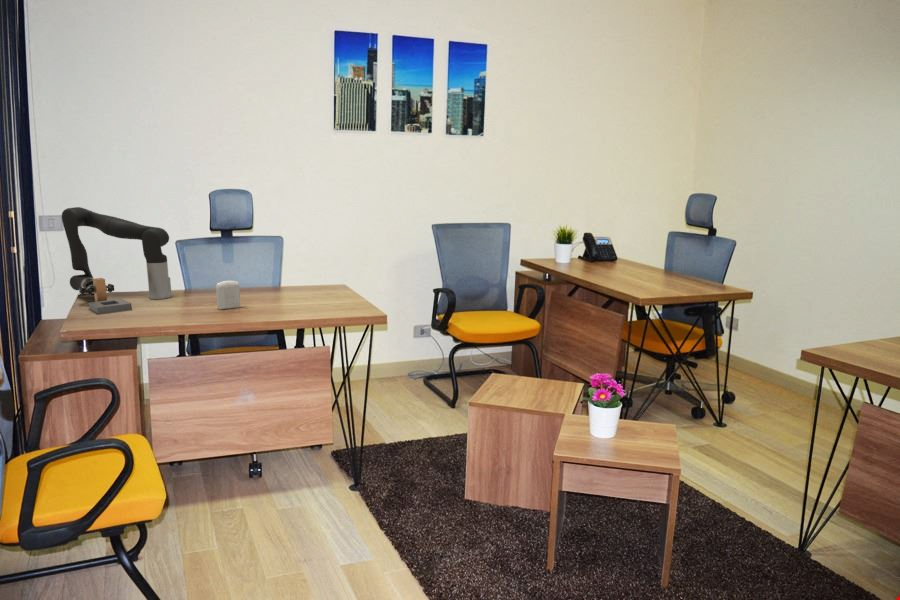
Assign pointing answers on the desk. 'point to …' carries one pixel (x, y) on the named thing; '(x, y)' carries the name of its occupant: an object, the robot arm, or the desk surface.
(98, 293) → the bracket post
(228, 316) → the desk surface
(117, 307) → the well stand
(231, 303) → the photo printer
